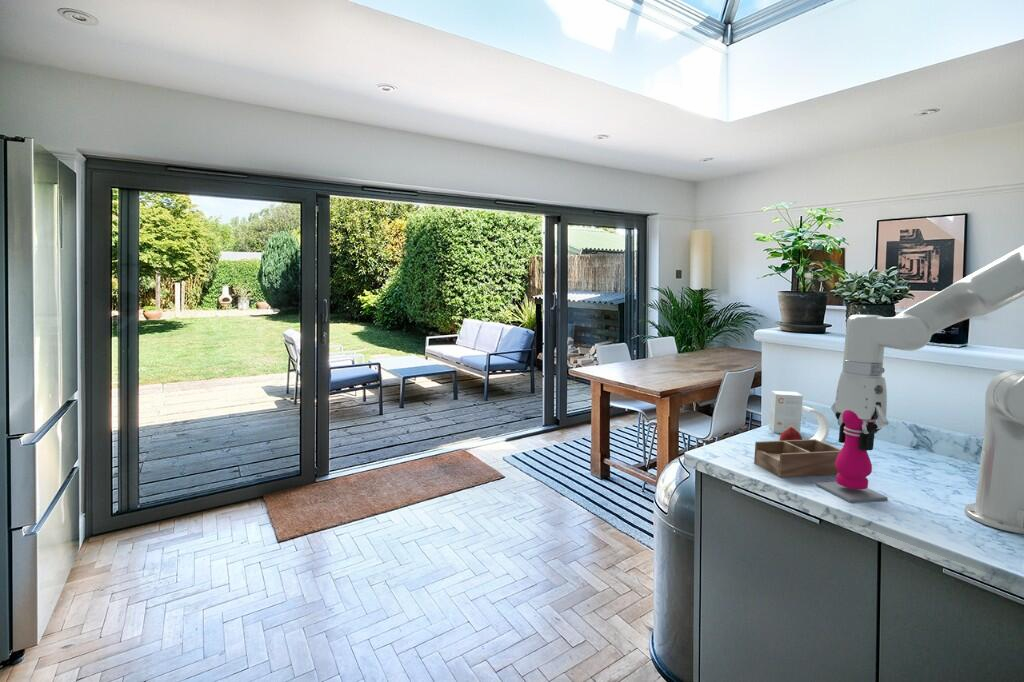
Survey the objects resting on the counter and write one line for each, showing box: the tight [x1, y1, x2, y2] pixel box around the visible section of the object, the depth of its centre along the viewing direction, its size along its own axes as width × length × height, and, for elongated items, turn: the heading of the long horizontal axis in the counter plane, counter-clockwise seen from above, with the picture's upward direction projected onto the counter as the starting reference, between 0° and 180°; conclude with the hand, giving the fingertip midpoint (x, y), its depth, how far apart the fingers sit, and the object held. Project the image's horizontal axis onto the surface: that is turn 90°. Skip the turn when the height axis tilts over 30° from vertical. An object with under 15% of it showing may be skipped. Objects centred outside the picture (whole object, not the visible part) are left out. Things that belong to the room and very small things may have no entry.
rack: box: [753, 438, 842, 478], centre depth 137 cm, size 11×18×6 cm, turn 100°
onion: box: [779, 425, 803, 441], centre depth 150 cm, size 6×6×8 cm
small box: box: [768, 390, 804, 435], centre depth 172 cm, size 8×6×13 cm
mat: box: [815, 481, 889, 503], centre depth 122 cm, size 10×10×1 cm
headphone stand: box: [802, 405, 830, 443], centre depth 156 cm, size 5×6×12 cm
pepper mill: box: [835, 410, 873, 489], centre depth 121 cm, size 7×7×20 cm
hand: (855, 445), depth 121 cm, fingers closed on pepper mill, 5 cm apart
